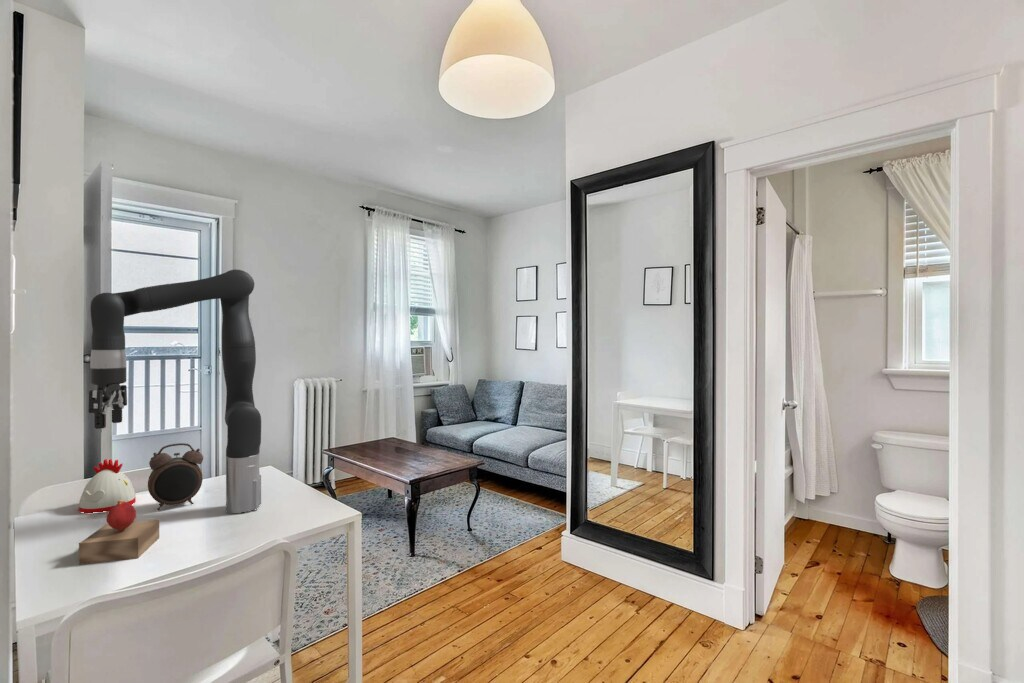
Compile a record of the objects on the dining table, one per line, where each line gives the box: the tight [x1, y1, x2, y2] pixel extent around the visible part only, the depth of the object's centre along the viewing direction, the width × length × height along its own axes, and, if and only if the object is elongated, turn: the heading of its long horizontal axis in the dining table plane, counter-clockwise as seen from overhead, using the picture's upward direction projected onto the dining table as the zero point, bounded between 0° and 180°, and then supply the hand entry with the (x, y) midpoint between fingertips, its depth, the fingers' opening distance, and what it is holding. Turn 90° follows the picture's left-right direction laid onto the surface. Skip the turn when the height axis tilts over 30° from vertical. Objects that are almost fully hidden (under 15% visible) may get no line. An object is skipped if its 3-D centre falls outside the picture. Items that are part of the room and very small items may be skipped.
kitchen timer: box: [78, 458, 137, 513], centre depth 152 cm, size 14×14×15 cm
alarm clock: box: [147, 442, 204, 511], centre depth 152 cm, size 15×7×20 cm, turn 129°
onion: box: [106, 500, 137, 531], centre depth 121 cm, size 6×6×8 cm
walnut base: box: [78, 519, 160, 565], centre depth 121 cm, size 12×12×5 cm
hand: (108, 425), depth 130 cm, fingers open, 8 cm apart
